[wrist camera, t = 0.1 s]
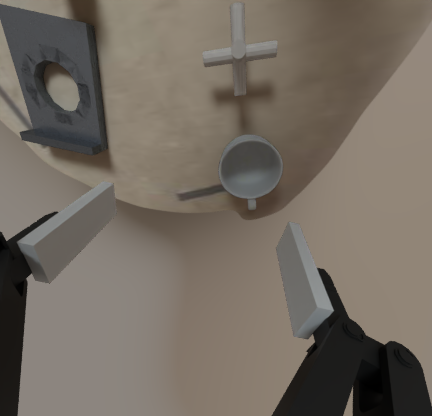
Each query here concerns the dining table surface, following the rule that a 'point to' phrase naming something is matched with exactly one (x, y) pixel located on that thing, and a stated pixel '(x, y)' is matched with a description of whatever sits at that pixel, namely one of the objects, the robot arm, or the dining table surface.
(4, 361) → the robot arm
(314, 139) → the dining table surface
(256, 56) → the pipe connector
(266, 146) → the teacup
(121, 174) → the dining table surface
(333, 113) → the dining table surface
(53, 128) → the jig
